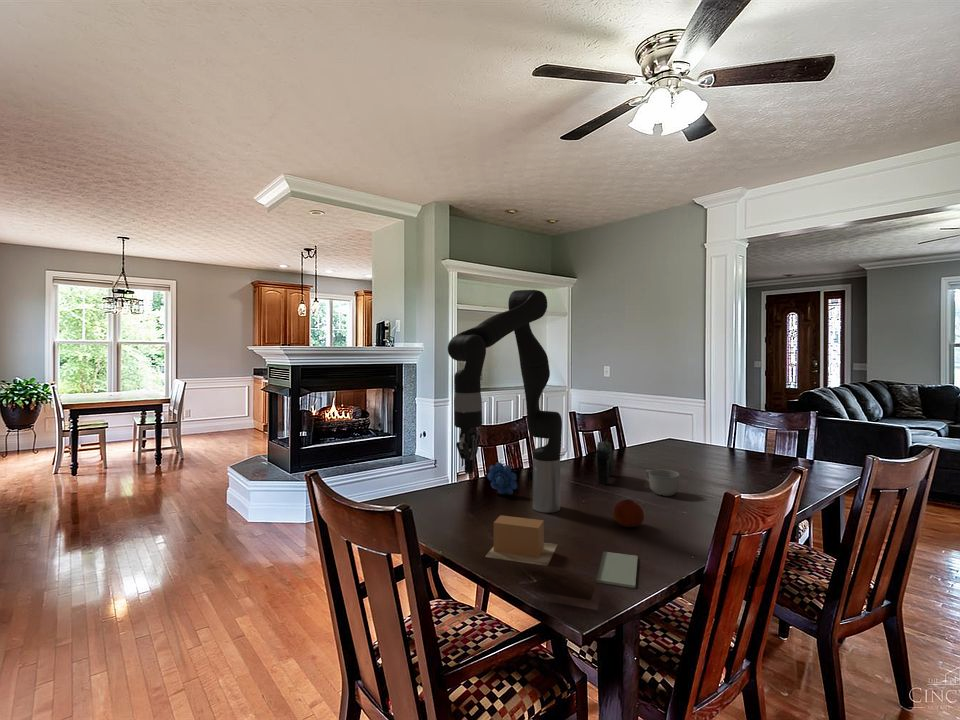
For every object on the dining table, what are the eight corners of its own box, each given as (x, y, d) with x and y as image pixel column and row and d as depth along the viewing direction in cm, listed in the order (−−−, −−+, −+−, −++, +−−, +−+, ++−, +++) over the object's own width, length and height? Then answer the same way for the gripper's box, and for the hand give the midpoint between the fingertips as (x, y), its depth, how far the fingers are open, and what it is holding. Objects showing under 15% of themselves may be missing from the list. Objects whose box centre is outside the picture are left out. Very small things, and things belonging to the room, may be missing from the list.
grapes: (483, 496, 182) (483, 463, 181) (489, 491, 188) (489, 460, 188) (514, 499, 178) (514, 466, 178) (519, 494, 184) (519, 462, 184)
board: (501, 542, 138) (501, 536, 138) (557, 549, 133) (557, 544, 133) (485, 562, 125) (485, 556, 125) (547, 571, 120) (547, 565, 120)
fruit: (607, 523, 153) (607, 497, 153) (630, 519, 156) (630, 494, 156) (625, 533, 145) (625, 506, 145) (649, 529, 148) (649, 502, 148)
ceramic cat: (609, 486, 194) (609, 436, 194) (592, 485, 197) (592, 435, 196) (614, 474, 213) (615, 428, 212) (599, 473, 215) (599, 427, 215)
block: (500, 542, 134) (500, 515, 134) (543, 548, 130) (543, 520, 130) (493, 551, 128) (493, 522, 128) (538, 557, 124) (538, 528, 124)
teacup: (685, 496, 181) (686, 474, 181) (662, 499, 177) (662, 477, 177) (659, 486, 194) (659, 466, 194) (637, 489, 190) (637, 468, 190)
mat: (560, 547, 134) (560, 545, 134) (637, 558, 127) (637, 555, 127) (548, 574, 118) (548, 572, 118) (635, 588, 111) (635, 585, 111)
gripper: (463, 405, 140) (464, 466, 140) (445, 411, 127) (447, 478, 128) (488, 406, 138) (489, 467, 138) (473, 412, 125) (474, 480, 125)
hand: (469, 472), depth 133 cm, fingers closed
